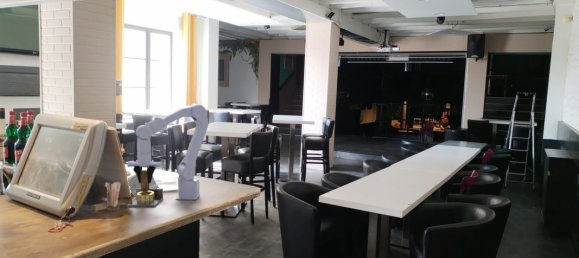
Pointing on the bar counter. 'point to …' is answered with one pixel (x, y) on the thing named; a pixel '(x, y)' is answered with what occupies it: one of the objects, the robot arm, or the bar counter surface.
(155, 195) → the cup bracket
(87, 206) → the bar counter surface
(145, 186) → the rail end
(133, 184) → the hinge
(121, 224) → the bar counter surface
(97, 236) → the bar counter surface
